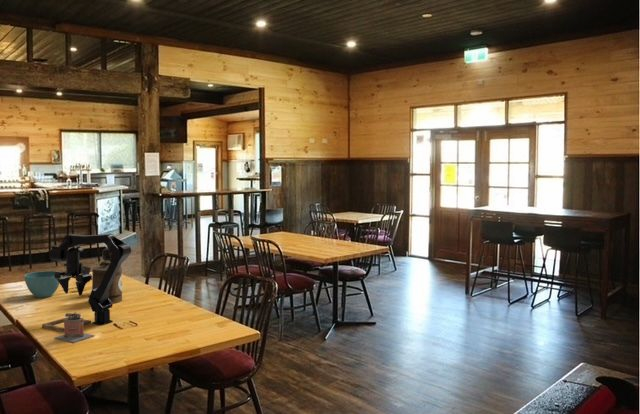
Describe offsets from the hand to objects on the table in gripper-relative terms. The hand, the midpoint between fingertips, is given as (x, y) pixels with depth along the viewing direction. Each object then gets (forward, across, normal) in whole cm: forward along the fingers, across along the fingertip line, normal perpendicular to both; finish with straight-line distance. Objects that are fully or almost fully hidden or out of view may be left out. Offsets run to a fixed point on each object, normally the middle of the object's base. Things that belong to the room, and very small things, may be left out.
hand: (73, 294), depth 253 cm
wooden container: (+13, +16, -34) cm, 40 cm away
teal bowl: (+13, +55, -25) cm, 62 cm away
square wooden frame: (+12, -4, +7) cm, 15 cm away
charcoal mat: (+12, -21, +17) cm, 30 cm away
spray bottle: (+13, +31, -49) cm, 59 cm away
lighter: (+12, -21, +17) cm, 30 cm away
